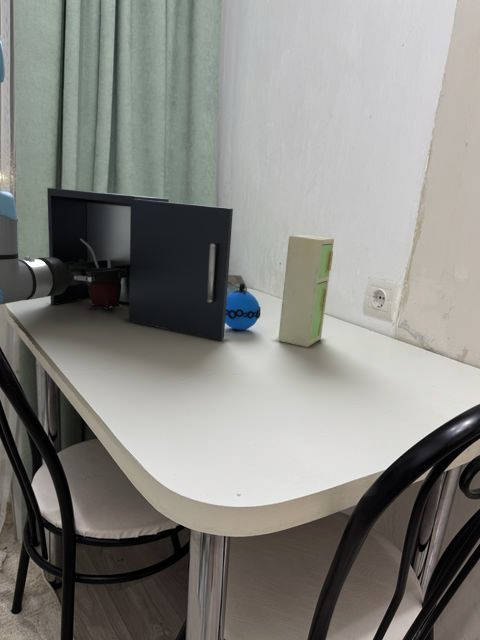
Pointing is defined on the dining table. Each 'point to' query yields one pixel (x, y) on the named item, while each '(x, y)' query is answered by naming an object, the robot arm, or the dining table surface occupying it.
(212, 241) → the sliding door cabinet
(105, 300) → the mate gourd
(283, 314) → the toy refrigerator
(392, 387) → the dining table surface
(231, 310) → the ornament
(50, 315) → the dining table surface
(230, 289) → the beverage carton
